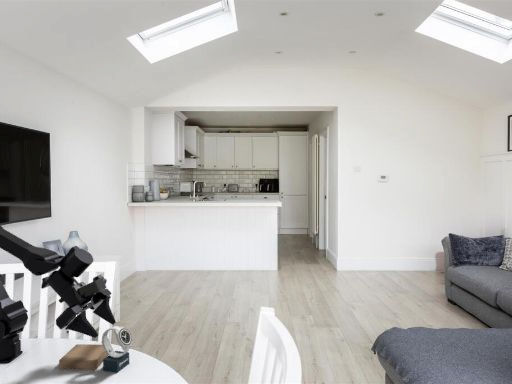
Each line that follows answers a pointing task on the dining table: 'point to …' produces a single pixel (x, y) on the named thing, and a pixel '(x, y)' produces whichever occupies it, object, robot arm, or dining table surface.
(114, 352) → the watch
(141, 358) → the dining table surface
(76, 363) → the plinth
